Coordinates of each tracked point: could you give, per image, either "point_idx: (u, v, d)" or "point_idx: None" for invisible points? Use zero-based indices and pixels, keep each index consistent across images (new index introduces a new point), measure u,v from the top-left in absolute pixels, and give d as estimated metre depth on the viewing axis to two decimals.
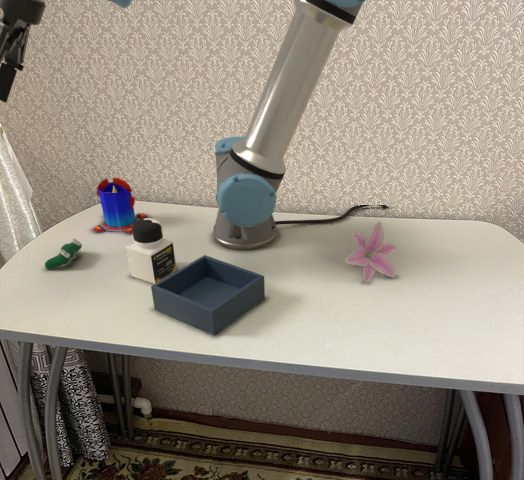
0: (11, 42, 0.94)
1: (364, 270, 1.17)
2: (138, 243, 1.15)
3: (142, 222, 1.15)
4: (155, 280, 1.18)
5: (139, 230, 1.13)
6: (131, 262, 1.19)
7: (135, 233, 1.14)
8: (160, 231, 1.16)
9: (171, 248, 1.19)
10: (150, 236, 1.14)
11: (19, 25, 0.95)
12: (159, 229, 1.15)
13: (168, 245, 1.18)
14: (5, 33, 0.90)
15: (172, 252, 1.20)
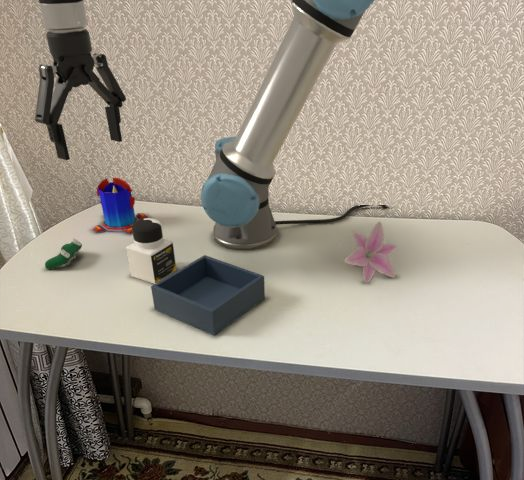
0: (67, 80, 1.03)
1: (364, 270, 1.17)
2: (138, 243, 1.15)
3: (142, 222, 1.15)
4: (155, 280, 1.18)
5: (139, 230, 1.13)
6: (131, 262, 1.19)
7: (135, 233, 1.14)
8: (160, 231, 1.16)
9: (171, 248, 1.19)
10: (150, 236, 1.14)
11: (76, 63, 1.03)
12: (159, 229, 1.15)
13: (168, 245, 1.18)
14: (47, 72, 1.00)
15: (172, 252, 1.20)
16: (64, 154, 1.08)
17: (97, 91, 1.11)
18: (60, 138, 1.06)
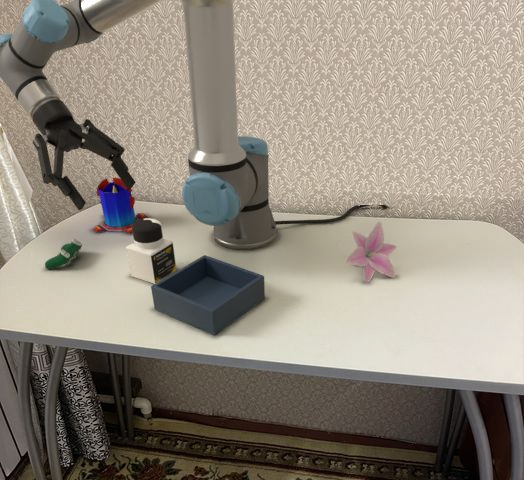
0: (58, 141, 1.14)
1: (364, 270, 1.17)
2: (138, 243, 1.15)
3: (142, 222, 1.15)
4: (155, 280, 1.18)
5: (139, 230, 1.13)
6: (131, 262, 1.19)
7: (135, 233, 1.14)
8: (160, 231, 1.16)
9: (171, 248, 1.19)
10: (150, 236, 1.14)
11: (62, 128, 1.16)
12: (159, 229, 1.15)
13: (168, 245, 1.18)
14: (37, 139, 1.12)
15: (172, 252, 1.20)
16: (79, 200, 1.13)
17: (96, 151, 1.21)
18: (70, 187, 1.13)
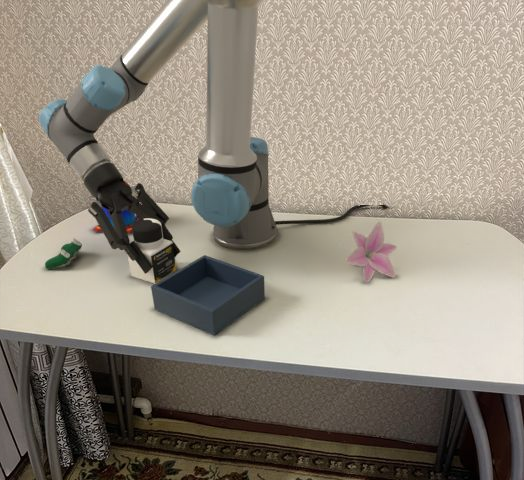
0: (114, 205, 1.15)
1: (364, 270, 1.17)
2: (138, 243, 1.15)
3: (142, 222, 1.15)
4: (155, 280, 1.18)
5: (139, 230, 1.13)
6: (131, 262, 1.19)
7: (135, 233, 1.14)
8: (160, 231, 1.16)
9: (171, 248, 1.19)
10: (150, 236, 1.14)
11: (113, 191, 1.16)
12: (159, 229, 1.15)
13: (168, 245, 1.18)
14: (94, 208, 1.12)
15: (172, 252, 1.20)
16: (146, 264, 1.15)
17: (141, 216, 1.20)
18: (137, 252, 1.15)
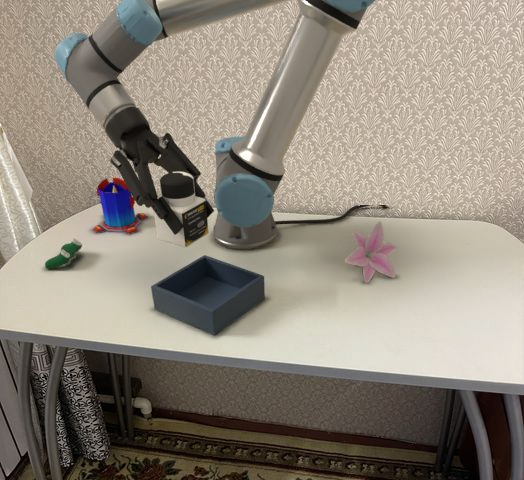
0: (139, 156, 1.00)
1: (364, 270, 1.17)
2: (167, 199, 1.01)
3: (172, 175, 1.00)
4: (185, 243, 1.03)
5: (169, 183, 0.99)
6: (158, 222, 1.04)
7: (164, 188, 0.99)
8: (192, 185, 1.01)
9: (203, 207, 1.04)
10: (181, 190, 0.99)
11: (139, 139, 1.01)
12: (191, 183, 1.00)
13: (201, 203, 1.03)
14: (118, 157, 0.98)
15: (205, 211, 1.05)
16: (176, 223, 1.00)
17: (170, 170, 1.05)
18: (166, 209, 1.00)
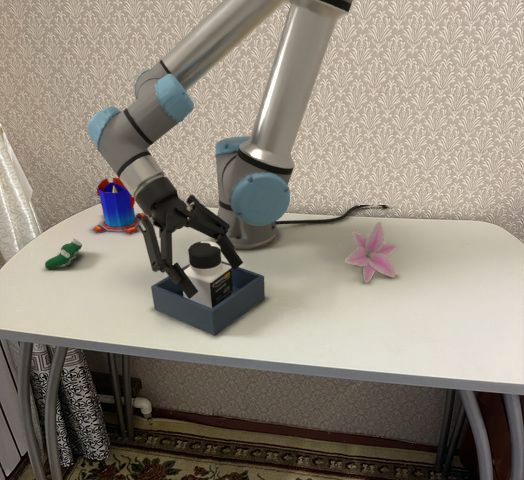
0: (166, 223, 1.03)
1: (364, 270, 1.17)
2: (195, 269, 1.04)
3: (200, 246, 1.04)
4: None
5: (197, 255, 1.02)
6: None
7: (193, 258, 1.03)
8: (219, 255, 1.05)
9: (229, 274, 1.08)
10: (210, 261, 1.03)
11: (168, 208, 1.05)
12: (219, 254, 1.04)
13: (227, 270, 1.07)
14: (144, 223, 1.01)
15: (230, 278, 1.09)
16: (191, 289, 1.02)
17: (200, 229, 1.09)
18: (181, 275, 1.02)
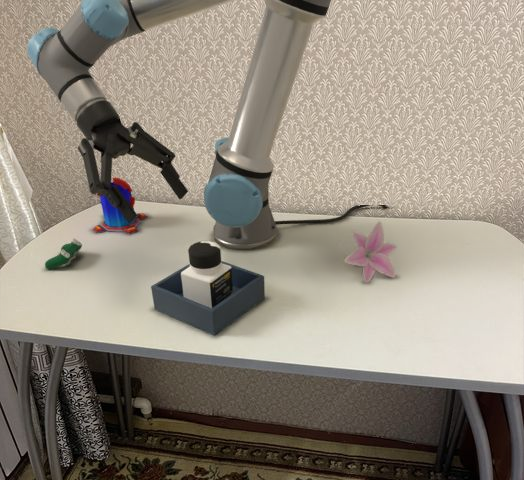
0: (106, 146, 1.02)
1: (364, 270, 1.17)
2: (195, 269, 1.04)
3: (200, 246, 1.04)
4: None
5: (197, 255, 1.02)
6: (186, 289, 1.08)
7: (193, 258, 1.03)
8: (219, 255, 1.05)
9: (229, 274, 1.08)
10: (210, 261, 1.03)
11: (110, 133, 1.04)
12: (219, 254, 1.04)
13: (227, 270, 1.07)
14: (83, 144, 1.00)
15: (230, 278, 1.09)
16: (130, 212, 1.01)
17: (144, 157, 1.09)
18: (120, 198, 1.01)
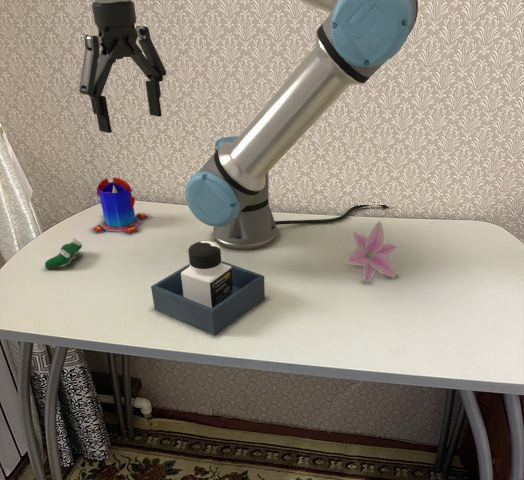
0: (112, 51, 1.03)
1: (364, 270, 1.17)
2: (195, 269, 1.04)
3: (200, 246, 1.04)
4: None
5: (197, 255, 1.02)
6: (186, 289, 1.08)
7: (193, 258, 1.03)
8: (219, 255, 1.05)
9: (229, 274, 1.08)
10: (210, 261, 1.03)
11: (120, 34, 1.03)
12: (219, 254, 1.04)
13: (227, 270, 1.07)
14: (92, 43, 0.99)
15: (230, 278, 1.09)
16: (106, 127, 1.08)
17: (139, 64, 1.11)
18: (103, 110, 1.06)
